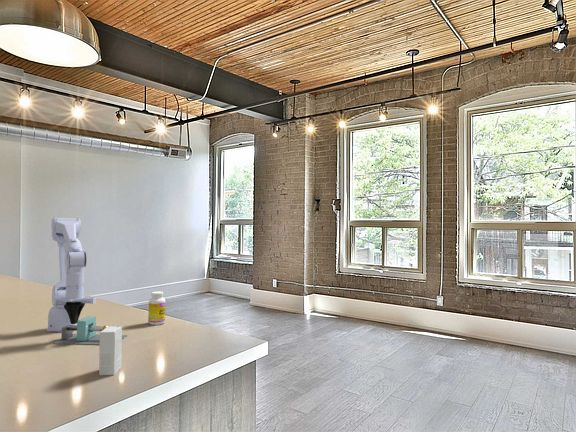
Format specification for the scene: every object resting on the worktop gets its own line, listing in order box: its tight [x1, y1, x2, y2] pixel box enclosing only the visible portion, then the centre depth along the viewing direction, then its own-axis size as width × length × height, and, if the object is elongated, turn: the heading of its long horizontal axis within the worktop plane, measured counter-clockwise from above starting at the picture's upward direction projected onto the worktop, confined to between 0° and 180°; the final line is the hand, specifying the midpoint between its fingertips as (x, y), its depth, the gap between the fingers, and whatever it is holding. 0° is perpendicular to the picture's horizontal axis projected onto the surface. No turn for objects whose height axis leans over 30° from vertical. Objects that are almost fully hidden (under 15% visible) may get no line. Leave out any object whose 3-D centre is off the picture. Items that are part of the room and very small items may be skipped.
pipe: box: [60, 325, 123, 340], centre depth 139 cm, size 20×4×5 cm, turn 88°
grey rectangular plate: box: [53, 333, 128, 346], centre depth 139 cm, size 21×11×1 cm, turn 88°
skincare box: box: [98, 325, 123, 376], centre depth 110 cm, size 6×4×12 cm
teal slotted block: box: [76, 315, 97, 341], centre depth 139 cm, size 3×7×7 cm, turn 178°
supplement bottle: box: [147, 290, 166, 326], centre depth 163 cm, size 7×7×13 cm
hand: (74, 323), depth 139 cm, fingers closed
